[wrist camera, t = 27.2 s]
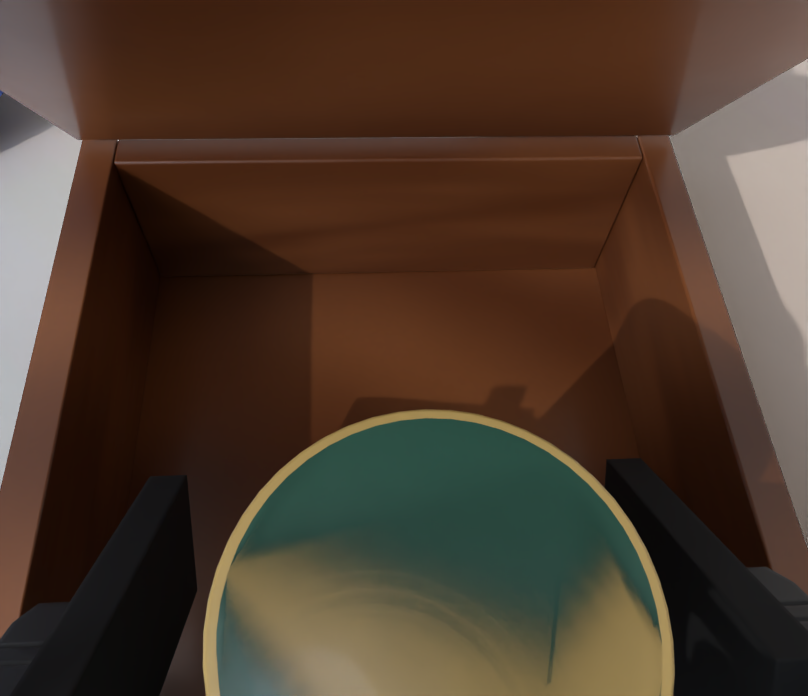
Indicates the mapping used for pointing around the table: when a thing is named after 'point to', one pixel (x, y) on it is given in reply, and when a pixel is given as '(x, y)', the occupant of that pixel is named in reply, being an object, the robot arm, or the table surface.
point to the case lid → (390, 65)
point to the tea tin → (436, 572)
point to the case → (370, 334)
